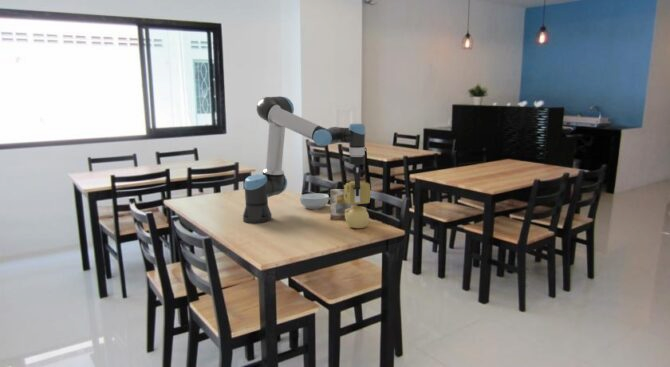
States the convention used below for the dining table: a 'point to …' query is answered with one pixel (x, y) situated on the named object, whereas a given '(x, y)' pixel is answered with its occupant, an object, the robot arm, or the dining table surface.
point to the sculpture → (357, 217)
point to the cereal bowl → (314, 200)
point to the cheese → (350, 193)
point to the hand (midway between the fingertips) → (357, 199)
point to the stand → (338, 204)
